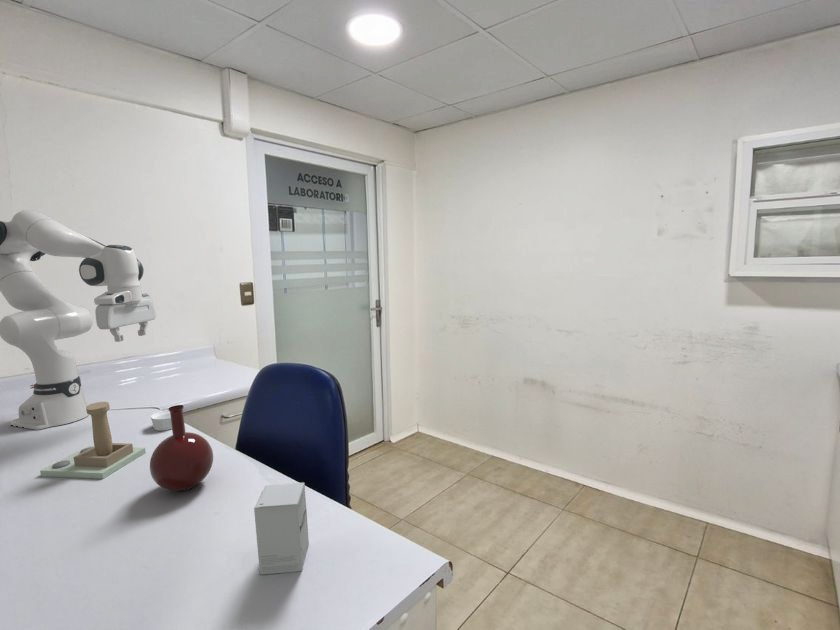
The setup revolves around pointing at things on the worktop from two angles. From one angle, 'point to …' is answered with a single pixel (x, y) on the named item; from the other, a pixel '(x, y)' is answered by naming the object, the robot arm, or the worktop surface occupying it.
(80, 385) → the robot arm
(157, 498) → the worktop surface
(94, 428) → the handle
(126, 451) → the green board with frame
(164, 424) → the ramekin
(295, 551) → the supplement box
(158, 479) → the round-bottom flask
